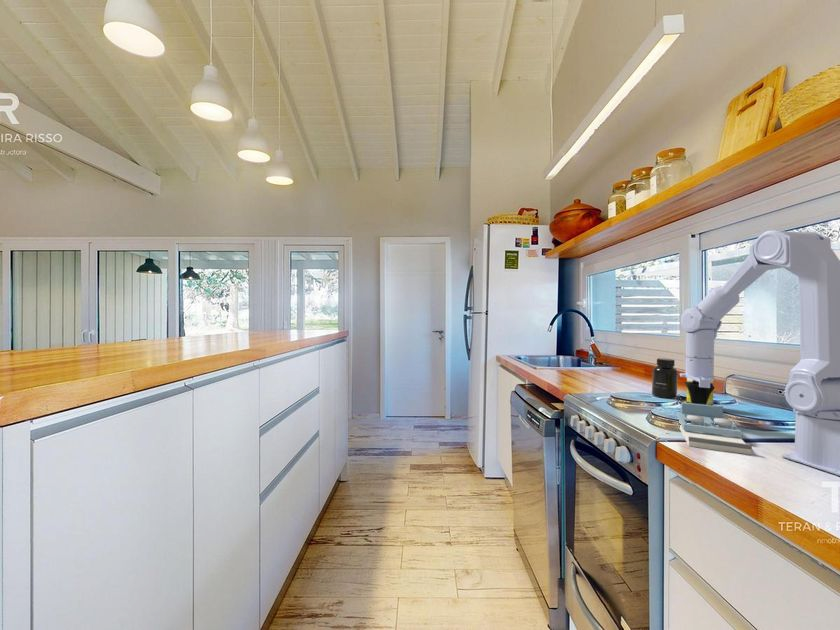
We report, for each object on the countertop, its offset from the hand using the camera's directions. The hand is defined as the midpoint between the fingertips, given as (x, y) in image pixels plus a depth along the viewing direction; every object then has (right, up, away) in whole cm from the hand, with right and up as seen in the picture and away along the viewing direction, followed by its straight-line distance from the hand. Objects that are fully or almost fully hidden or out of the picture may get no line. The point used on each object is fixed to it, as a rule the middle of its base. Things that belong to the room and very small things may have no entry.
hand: (698, 411), depth 97 cm
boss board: (-6, -3, -11) cm, 13 cm away
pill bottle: (+10, -2, +14) cm, 18 cm away
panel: (-4, -1, -8) cm, 10 cm away
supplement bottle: (+9, -2, +28) cm, 29 cm away
